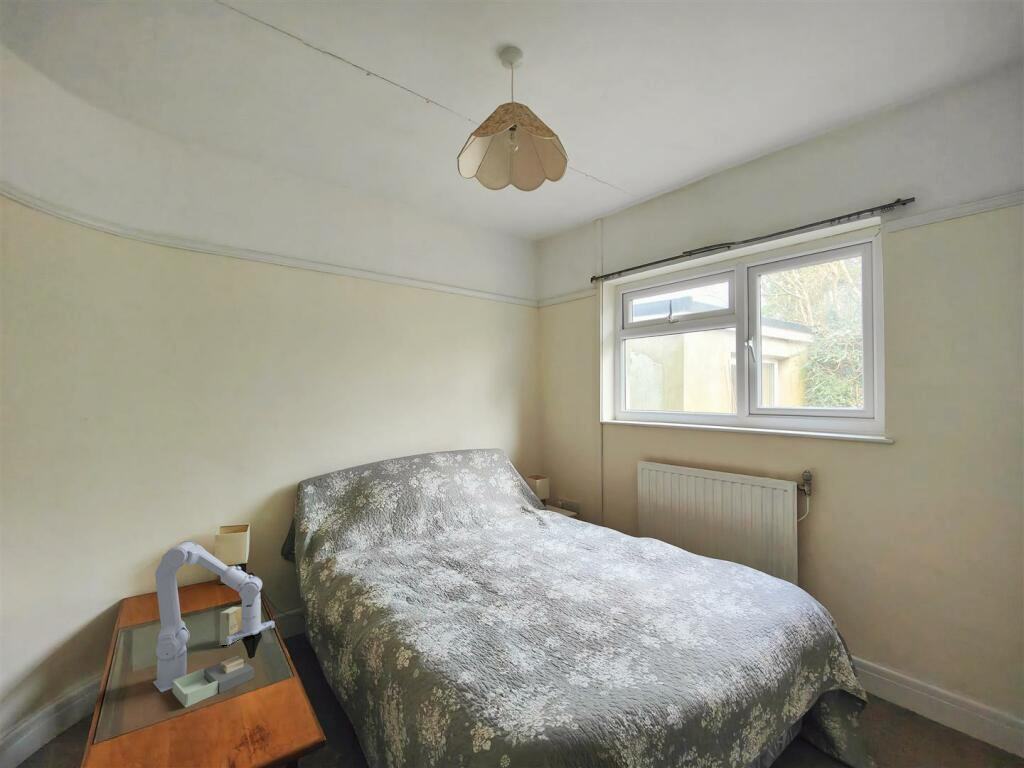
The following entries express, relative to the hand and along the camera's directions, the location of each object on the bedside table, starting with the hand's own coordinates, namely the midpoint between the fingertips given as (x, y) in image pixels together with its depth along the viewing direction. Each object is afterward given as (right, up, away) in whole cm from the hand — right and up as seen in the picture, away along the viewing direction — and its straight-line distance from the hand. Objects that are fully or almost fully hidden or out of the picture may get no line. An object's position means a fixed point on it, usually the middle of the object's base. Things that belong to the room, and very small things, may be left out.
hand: (251, 657), depth 153 cm
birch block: (-4, 0, -4) cm, 6 cm away
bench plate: (-4, -4, -6) cm, 8 cm away
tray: (-10, -3, -13) cm, 17 cm away
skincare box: (-19, -7, +20) cm, 28 cm away
